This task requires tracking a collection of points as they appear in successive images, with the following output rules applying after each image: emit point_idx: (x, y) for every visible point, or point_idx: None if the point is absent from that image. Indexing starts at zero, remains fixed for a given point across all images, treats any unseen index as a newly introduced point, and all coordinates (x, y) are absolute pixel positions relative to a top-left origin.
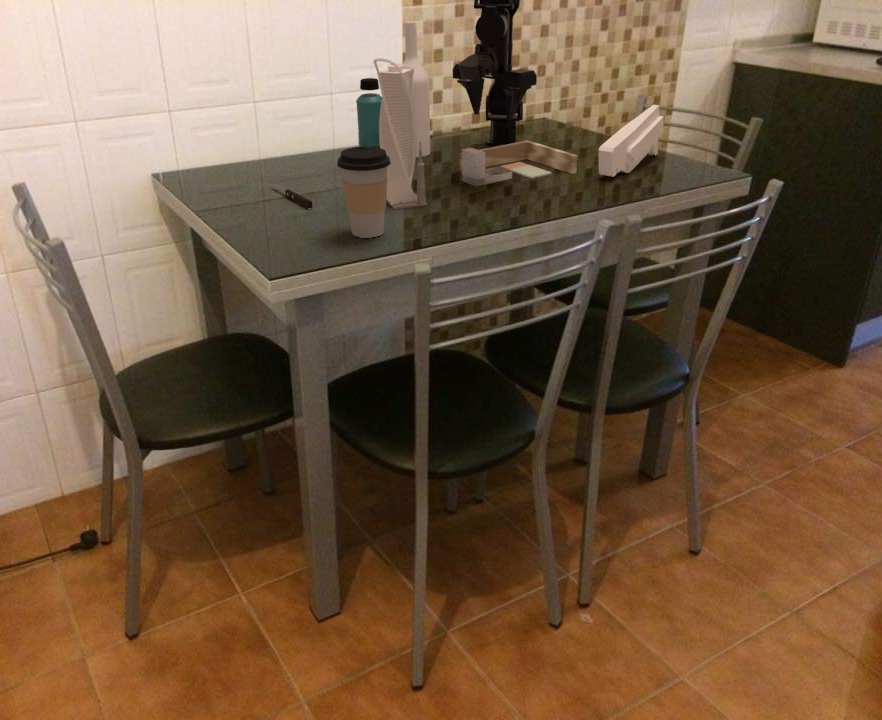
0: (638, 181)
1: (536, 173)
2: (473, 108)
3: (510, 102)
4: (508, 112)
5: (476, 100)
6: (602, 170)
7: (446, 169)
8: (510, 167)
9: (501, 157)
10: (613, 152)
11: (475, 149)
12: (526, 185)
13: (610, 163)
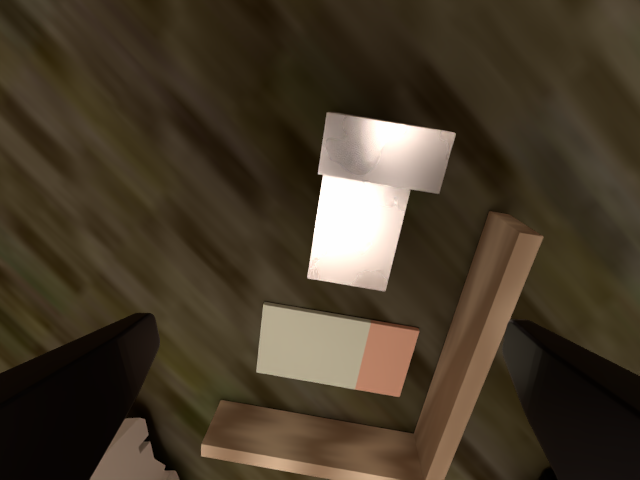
0: None
1: (278, 339)
2: (559, 344)
3: None
4: (75, 344)
5: (591, 437)
6: (122, 424)
7: (568, 197)
8: (381, 338)
9: (445, 372)
10: None
11: (393, 180)
12: (224, 242)
13: None
